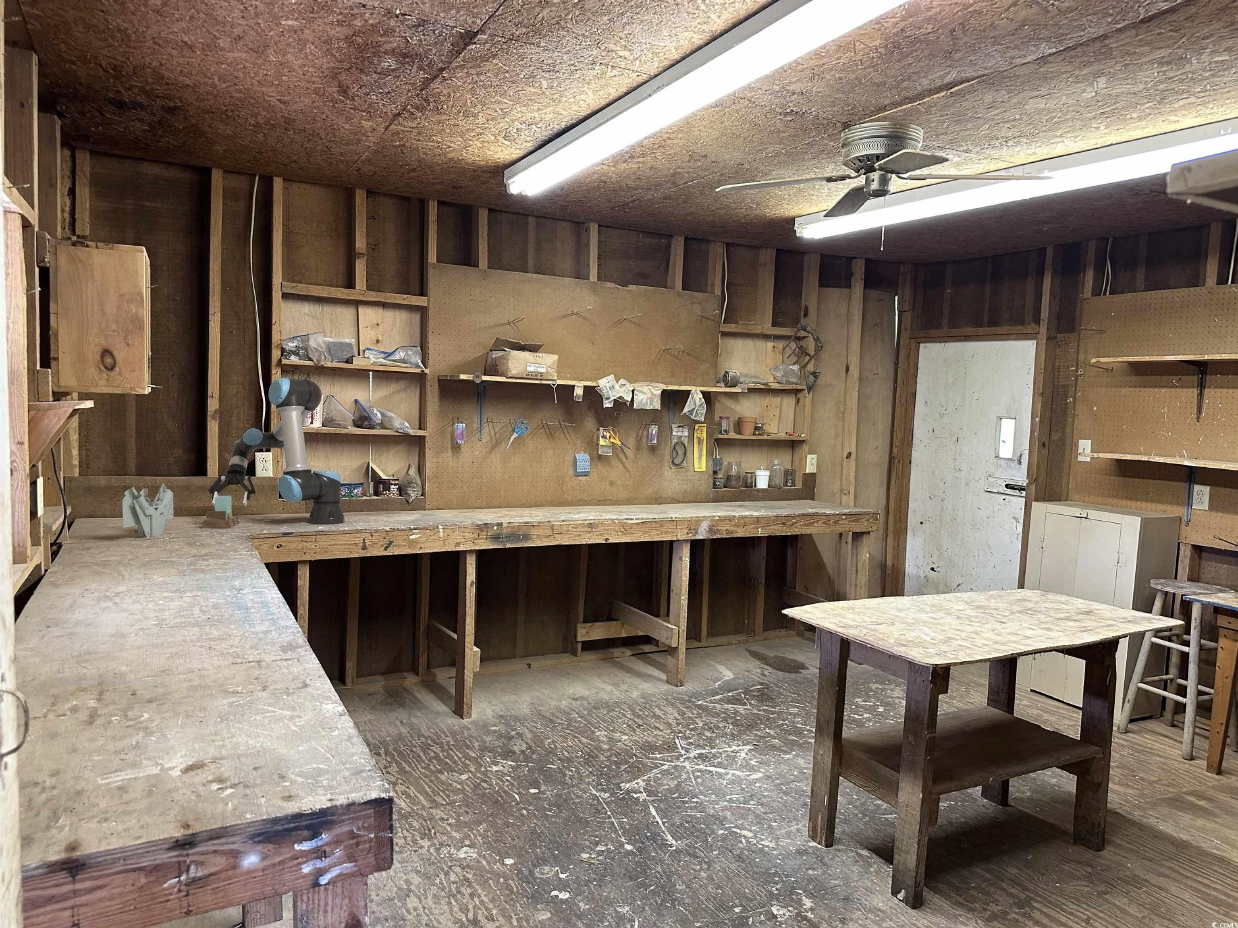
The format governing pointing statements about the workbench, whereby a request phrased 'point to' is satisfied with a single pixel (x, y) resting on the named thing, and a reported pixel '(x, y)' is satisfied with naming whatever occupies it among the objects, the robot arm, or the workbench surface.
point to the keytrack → (219, 520)
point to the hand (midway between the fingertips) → (229, 504)
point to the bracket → (147, 511)
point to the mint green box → (223, 504)
